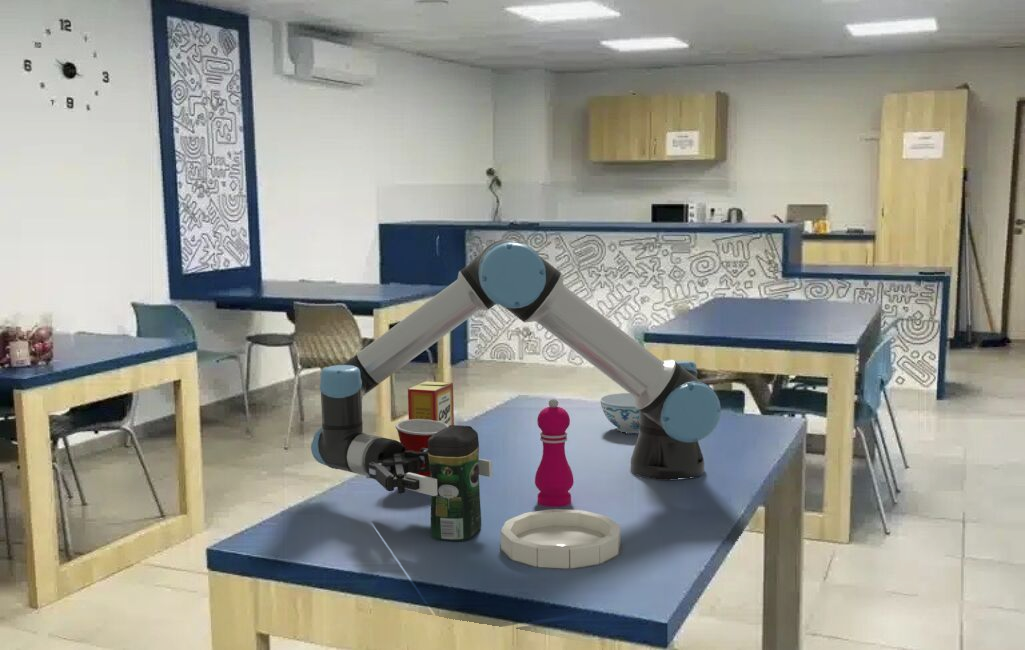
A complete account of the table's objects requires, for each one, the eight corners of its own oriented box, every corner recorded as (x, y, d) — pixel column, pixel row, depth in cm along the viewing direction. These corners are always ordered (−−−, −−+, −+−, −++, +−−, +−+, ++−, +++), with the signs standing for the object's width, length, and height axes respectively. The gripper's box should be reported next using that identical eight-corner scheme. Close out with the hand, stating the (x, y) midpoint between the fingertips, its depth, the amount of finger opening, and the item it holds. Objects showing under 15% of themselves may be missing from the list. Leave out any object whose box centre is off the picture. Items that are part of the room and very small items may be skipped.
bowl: (589, 520, 172) (589, 504, 172) (639, 557, 155) (640, 539, 154) (487, 535, 166) (486, 517, 165) (527, 575, 148) (527, 556, 148)
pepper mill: (578, 499, 186) (577, 395, 183) (567, 511, 179) (566, 403, 176) (541, 496, 188) (540, 393, 185) (530, 507, 181) (528, 401, 179)
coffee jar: (443, 523, 173) (441, 420, 171) (486, 526, 171) (484, 422, 169) (423, 542, 164) (420, 434, 162) (468, 546, 162) (466, 436, 159)
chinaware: (666, 437, 231) (666, 405, 230) (602, 438, 231) (602, 406, 230) (657, 422, 246) (658, 392, 245) (598, 423, 246) (598, 393, 245)
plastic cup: (442, 491, 192) (441, 431, 190) (389, 488, 194) (387, 429, 193) (456, 475, 203) (455, 418, 201) (406, 473, 205) (404, 417, 203)
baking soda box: (436, 461, 214) (434, 389, 212) (409, 458, 216) (407, 387, 214) (454, 450, 223) (452, 381, 220) (428, 448, 225) (426, 379, 223)
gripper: (427, 462, 188) (512, 482, 175) (325, 494, 169) (411, 519, 156) (426, 424, 187) (511, 441, 174) (323, 452, 168) (409, 473, 155)
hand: (464, 478), depth 165 cm, fingers open, 13 cm apart
